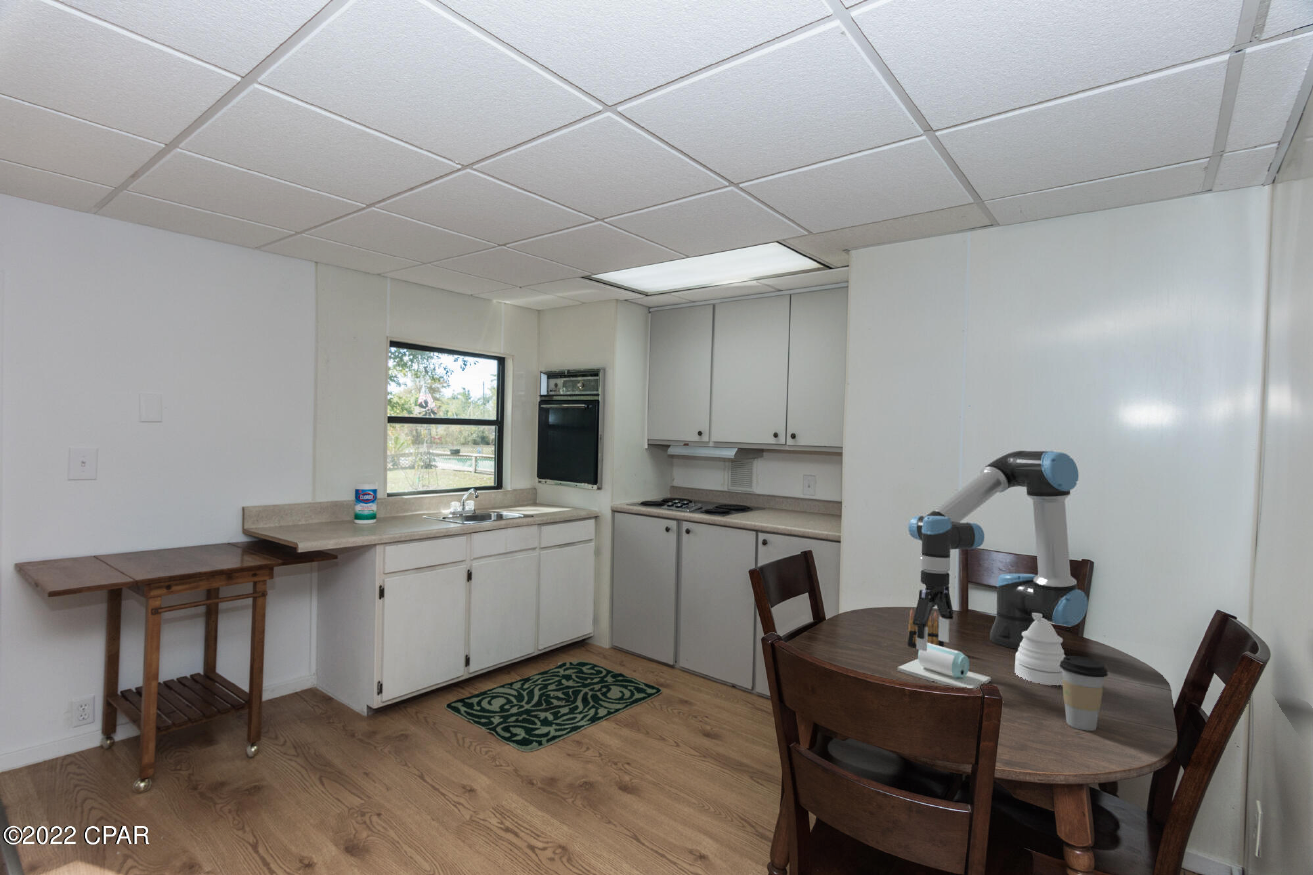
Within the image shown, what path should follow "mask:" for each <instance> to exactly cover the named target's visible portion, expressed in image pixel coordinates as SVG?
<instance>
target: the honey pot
mask: <svg viewBox="0 0 1313 875" xmlns="http://www.w3.org/2000/svg"><path fill="white" fill-rule="evenodd" d="M1032 617H1033V619H1034V620H1035V621H1034V622H1033V623H1032V624H1031V626H1030V627H1029V629H1028V630H1027V631H1024V632H1022V636H1023V637H1024V638H1023V640H1022V642H1021V643H1020V647H1019V648H1018V649H1017V652H1016V653H1015V658H1014V659H1015V661H1014V674H1015V673H1016V674H1015V675H1016V676H1017V675H1018V676H1019V678H1020V677H1022V678H1023V680H1025V679H1026V680H1025V681H1027V680H1028V681H1027V682H1030V681H1032V682H1031V683H1035V684H1038V683H1040V684H1039V685H1045V686H1051V685H1057V686H1056V687H1059V686H1058V685H1061V686H1063V684H1062V677H1063V675H1062V668H1061V667H1060V666H1059V665H1060V662H1061V661H1063V659H1064V657H1066V655H1065V650H1064V649H1063V647H1062V643H1063V641H1064V639H1063V637H1061V636H1059V635H1058V633H1057V632H1056V630H1055V629H1054V627H1053V625H1052V624H1051V622H1049V621H1047V620H1046V619H1044V618H1042V614H1039V613H1032ZM1018 676H1017V677H1018ZM1022 678H1021V679H1022Z"/></svg>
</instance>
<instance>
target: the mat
mask: <svg viewBox="0 0 1313 875" xmlns="http://www.w3.org/2000/svg"><path fill="white" fill-rule="evenodd" d="M897 672H900V673H903V674H906V675H909V676H913V677H916V678H920V679H922V680H925V681H930V682H932V681H935V682H934V683H936V682H937V683H936V684H939V685H943V686H945V685H951V686H956V687H967V688H975V689H976V688H977V687H979V685H981V684H983V683H986V684H988V683H990V682H991V681H992V677H990V676H987V675H984V674H981V673H977V672H973V671H969V670H968V673H967V675H966V676H965V677H959V678H955V677H952V676H948V675H945V674H942V673H939V672H936V671H933V670H929V669H926V668H923V667H921V665H920V663H919V661H918V658H916V659H914V660H912V661H909V662H906V663H905V664H902V665H899V666H898V667H897ZM989 681H990V682H989ZM979 688H980V687H979ZM976 690H977V689H976Z"/></svg>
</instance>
